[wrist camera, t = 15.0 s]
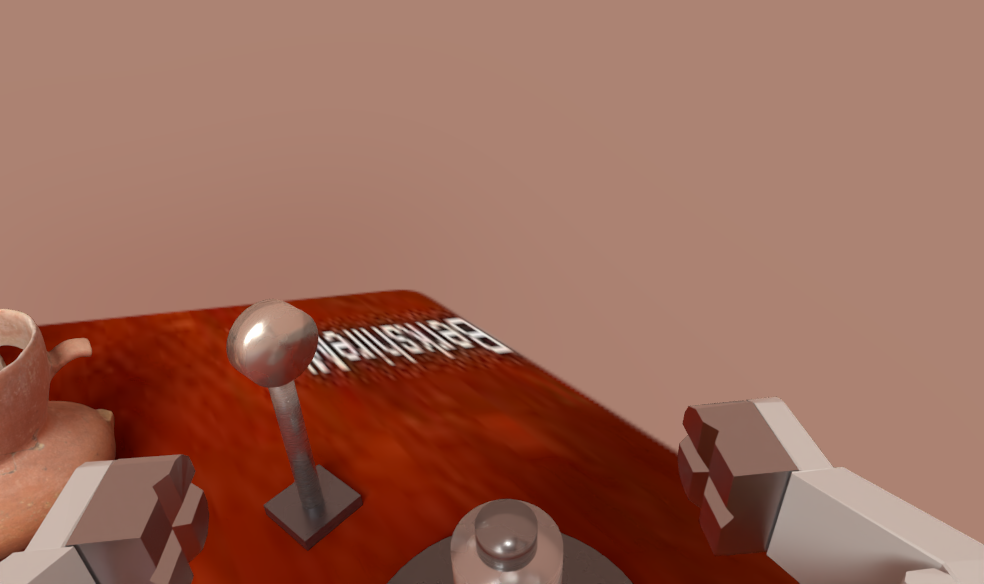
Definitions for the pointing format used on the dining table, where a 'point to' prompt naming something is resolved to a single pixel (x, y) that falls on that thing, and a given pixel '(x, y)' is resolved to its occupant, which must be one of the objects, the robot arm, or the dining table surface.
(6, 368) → the ceramic jug
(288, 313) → the metal joystick
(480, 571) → the capped metal canister
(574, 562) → the disc
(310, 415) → the dining table surface
